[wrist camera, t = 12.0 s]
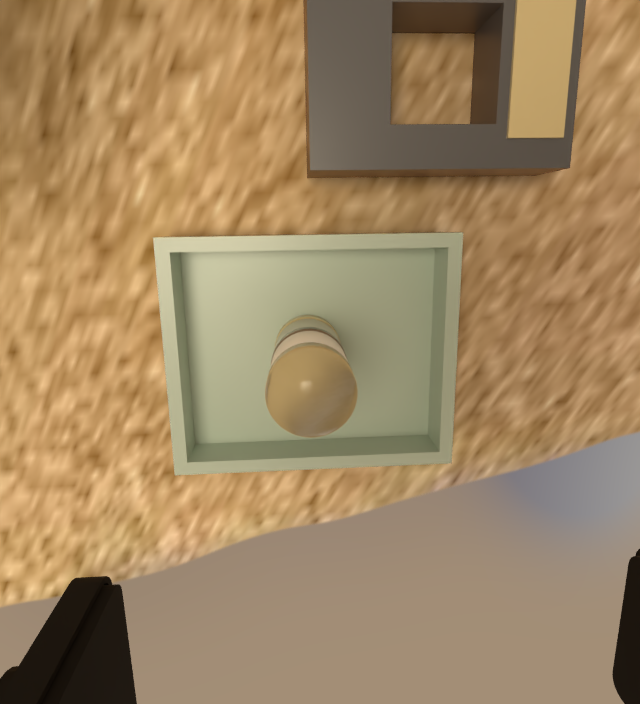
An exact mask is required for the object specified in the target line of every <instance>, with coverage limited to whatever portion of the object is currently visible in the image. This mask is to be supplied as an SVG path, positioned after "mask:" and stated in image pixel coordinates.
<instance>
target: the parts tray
mask: <svg viewBox="0 0 640 704" xmlns="http://www.w3.org/2000/svg"><path fill="white" fill-rule="evenodd" d="M153 241H154V252H155V263H156V274H157V285H158V296H159V307H160V318H161V329H162V340H163V351H164V362H165V373H166V384H167V395H168V405H169V416H170V427H171V438H172V449H173V460H174V471H175V475H192V474H216V473H239V472H262V471H285V470H308V469H332V468H355V467H378V466H401V465H424V464H448V463H452V446H453V426H454V406H455V387H456V367H457V347H458V327H459V307H460V287H461V268H462V248H463V232H421V233H360V234H300V235H239V236H178V237H155V238H153ZM300 315H315V316H319V317H321V318H323V319H325V320H326V321H328V322H329V323H330V324H331V325H332V326H333V327H334V329H335V330H336V332H337V334H338V337H339V339H340V342H341V345H342V347H343V349H344V352H345V354H346V357H347V361H348V363H349V365H350V367H351V369H352V372H353V374H354V377H355V379H356V383H357V390H358V396H357V403H356V406H355V409H354V411H353V413H352V415H351V416H350V418H349V419H348V421H347V422H346V423H345V424H344V425H343V426H342V427H340V428H339V429H338V430H336V431H334V432H332V433H330V434H328V435H325V436H321V437H313V438H308V437H301V436H297V435H294V434H291V433H290V432H288V431H286V430H284V429H283V428H282V427H280V426H279V425H278V424H277V423H276V422H275V420H274V419H273V418H272V416H271V415H270V413H269V411H268V408H267V405H266V400H265V386H266V382H267V378H268V374H269V370H270V367H271V360H272V356H273V352H274V349H275V343H276V339H277V335H278V333H279V331H280V329H281V328H282V327H283V325H284V324H285V323H286V322H288V321H289V320H291V319H292V318H294V317H297V316H300Z"/></svg>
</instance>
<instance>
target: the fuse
mask: <svg viewBox="0 0 640 704" xmlns="http://www.w3.org/2000/svg"><path fill="white" fill-rule="evenodd" d="M357 396H358V390H357V383H356V379H355V377H354V374H353V372H352V369H351V367H350V365H349V363H348V361H347V357H346V354H345V352H344V349H343V347H342V345H341V342H340V339H339V337H338V334H337V332H336V330H335V329H334V327H333V326H332V325H331V324H330V323H329V322H328V321H326V320H325V319H323V318H321V317H319V316H315V315H300V316H297V317H294V318H292V319H291V320H289V321H288V322H286V323H285V324H284V325H283V327H282V328H281V329H280V331H279V333H278V335H277V339H276V343H275V349H274V352H273V356H272V360H271V367H270V370H269V374H268V378H267V382H266V386H265V400H266V405H267V408H268V411H269V413H270V415H271V416H272V418H273V419H274V420H275V422H276V423H277V424H278V425H279V426H280V427H282V428H283V429H284V430H286V431H288V432H290V433H291V434H294V435H297V436H301V437H308V438H313V437H321V436H325V435H328V434H330V433H332V432H334V431H336V430H338V429H339V428H340V427H342V426H343V425H344V424H345V423H346V422H347V421H348V419H349V418H350V416H351V415H352V413H353V411H354V409H355V406H356V403H357Z"/></svg>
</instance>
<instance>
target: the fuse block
mask: <svg viewBox="0 0 640 704" xmlns="http://www.w3.org/2000/svg"><path fill="white" fill-rule="evenodd" d="M585 5H586V0H304V44H305V93H306V142H307V178H342V177H442V176H535V175H540V174H544V173H549V172H553V171H558V170H563V169H567V168H570V161H571V151H572V140H573V130H574V119H575V109H576V99H577V88H578V78H579V67H580V57H581V47H582V36H583V26H584V16H585ZM392 33H475V42H474V61H473V81H472V100H471V120H470V124H417V125H390V120H391V59H392Z"/></svg>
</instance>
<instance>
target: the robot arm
mask: <svg viewBox="0 0 640 704" xmlns="http://www.w3.org/2000/svg"><path fill="white" fill-rule="evenodd" d="M613 681H614V685H615V688H616V690H617V692H618V694H619V696H620V698H621V699H622V701H623V702H624V703H625V704H640V549H639V550H638V551H637V553H636V556H634V557H632V558H631V559H630V561H629V565H628V572H627V579H626V585H625V592H624V600H623V606H622V612H621V619H620V626H619V633H618V639H617V646H616V653H615V660H614V667H613ZM0 704H137V703H136V694H135V687H134V679H133V671H132V664H131V656H130V648H129V640H128V633H127V625H126V617H125V610H124V602H123V595H122V589H121V586H120V585H112V582H111V579H110V578H109V577H107V576H103V577H85V578H75V579H73V580H72V581H71V583H70V584H69V586H68V587H67V589H66V590H65V592H64V594H63V595H62V597H61V599H60V600H59V602H58V603H57V605H56V607H55V608H54V610H53V612H52V613H51V615H50V616H49V618H48V620H47V621H46V623H45V624H44V626H43V628H42V629H41V631H40V632H39V634H38V636H37V637H36V639H35V641H34V642H33V644H32V646H31V647H30V649H29V651H28V652H27V654H26V655H25V657H24V659H23V660H22V662H21V663H20V665H19V666H16V667H12V668H10V669H9V670H7V671H6V672H5V674H4V675H3V676H2V677H1V679H0Z"/></svg>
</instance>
